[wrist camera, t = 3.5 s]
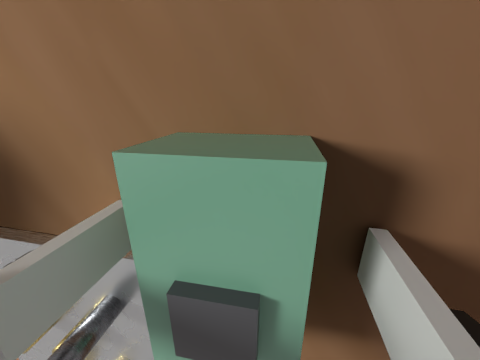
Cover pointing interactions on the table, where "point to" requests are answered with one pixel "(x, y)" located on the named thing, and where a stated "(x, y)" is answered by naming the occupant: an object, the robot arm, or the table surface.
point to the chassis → (89, 312)
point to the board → (223, 241)
